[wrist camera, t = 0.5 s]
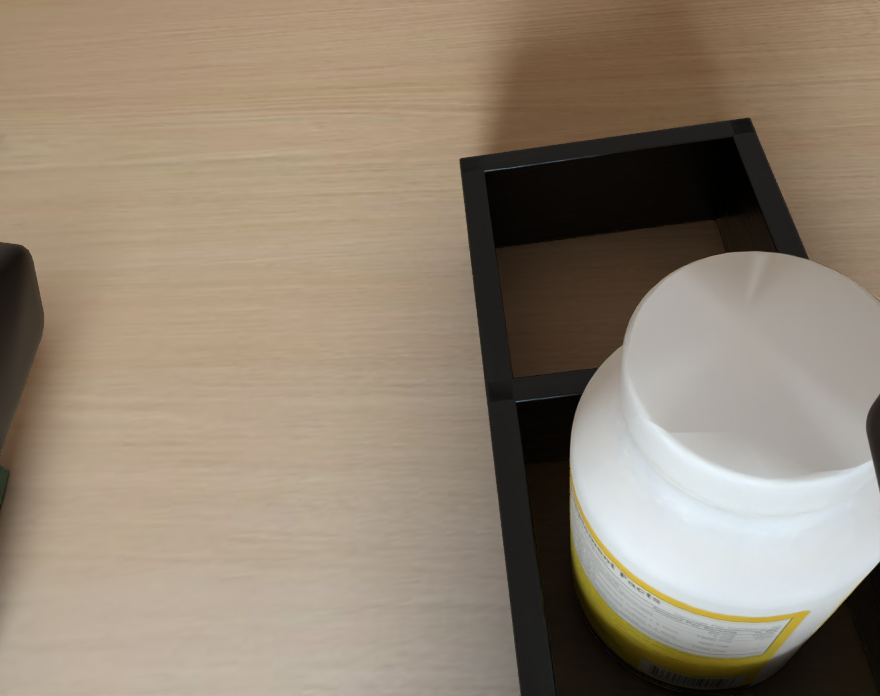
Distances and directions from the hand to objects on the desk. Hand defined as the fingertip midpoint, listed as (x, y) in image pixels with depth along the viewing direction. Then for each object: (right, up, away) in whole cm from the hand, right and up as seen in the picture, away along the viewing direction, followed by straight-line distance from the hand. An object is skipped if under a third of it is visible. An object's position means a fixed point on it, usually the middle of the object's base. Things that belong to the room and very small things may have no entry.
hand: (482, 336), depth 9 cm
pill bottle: (+6, -7, +15) cm, 18 cm away
